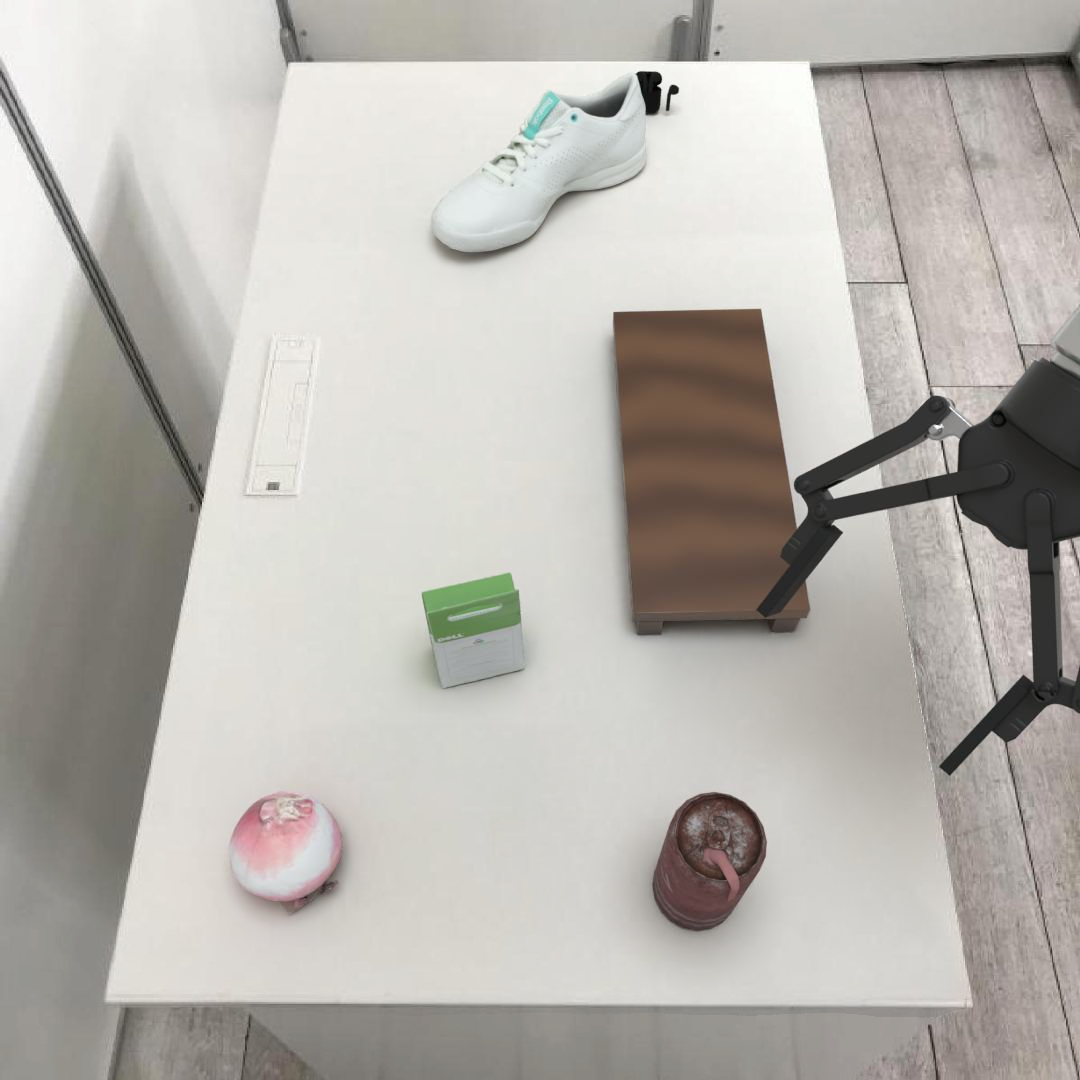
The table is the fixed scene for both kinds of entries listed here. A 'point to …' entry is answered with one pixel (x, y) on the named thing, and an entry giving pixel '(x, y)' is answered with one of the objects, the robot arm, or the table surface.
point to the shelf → (702, 468)
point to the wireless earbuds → (654, 90)
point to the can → (708, 860)
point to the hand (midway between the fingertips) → (854, 685)
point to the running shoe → (546, 166)
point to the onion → (285, 848)
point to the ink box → (475, 629)
